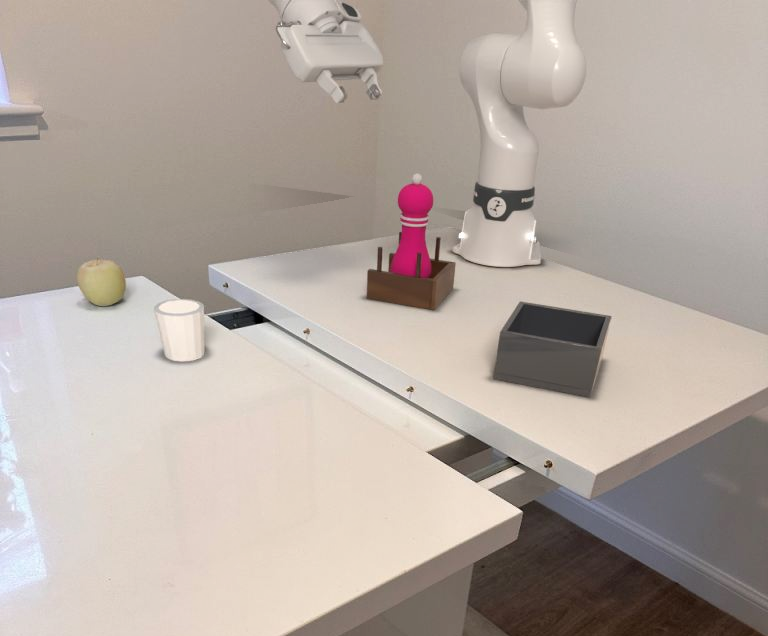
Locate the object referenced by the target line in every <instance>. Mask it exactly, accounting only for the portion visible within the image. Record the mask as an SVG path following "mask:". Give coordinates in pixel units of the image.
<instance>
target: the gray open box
mask: <svg viewBox="0 0 768 636" xmlns="http://www.w3.org/2000/svg"><path fill="white" fill-rule="evenodd" d="M611 321H612V315H608V314H603V313H602V314H601V313H596V312H588V311H583V310H576V309H570V308H564V307H558V306H551V305H546V304H539V303H533V302H527V301H519V302H518V303H517V305H516V306H515V309H514V310H513V311H512V312H511V314H510V316H509V318H508V319H507V321H506V322H505V323H504V325H503V326H502V328H501V330H500V331H499V337H498V344H497V349H496V356H495V357H496V358H495V364H494V372H493V380H496V381H503V382H506V383H507V382H508V383H513V384H516V385H517V384H518V385H523V386H527V387H532V388H533V387H534V388H539V389H544V390H549V391H555V392H559V393H565V394H570V395H576V396H581V397H586V398H591V396H592V393H593V391H594V386H595V383H596V380H597V377H598V374H599V369H600V366H601V363H602V360H603V355H604V352H605V347H606V342H607V339H608V335H609V330H610V326H611Z"/></svg>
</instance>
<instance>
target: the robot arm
mask: <svg viewBox="0 0 768 636" xmlns="http://www.w3.org/2000/svg"><path fill="white" fill-rule="evenodd" d="M518 1H519V3H520V5H521V6H522V7H523V8H524V10H525V11H526V21H525V22H526V23H525V28H524V31H523V33H522V34H519V33H507V32H506V33H505V32H492V33H488V34H483V35H479V36H476V37H473V38H472V39H470V40H469V42H468V43H467V44H466V45H465V47H464V49H463V51H462V54H461V57H460V61H459V68H458V69H459V79H460V82H461V85H462V87H463V88H464V90H465V91H466V93H467V94H468V95H469V98H470V99H471V102H472V103H473V106H474V110H475V112H476V116H477V120H478V127H479V135H480V136H479V137H480V151H479V161H478V162H479V164H478V173H477V181H476V182H475V183H474V189H473V193H472V194H473V196H472V197H473V198H472V202H473V204H472V206H471V207H470V208H468V209H467V210H466V211H465V212H464V217H463V222H462V223H463V224H462V229H461V232H460V233H459V234H458V239H460V242H459V243H457V244H455V245H453V246H452V249H451V251H452V253H454V254H456V255H459V256H461V257H462V258H463V259H464V260H467V261H469V262H471V263H474V264H478V265H483V266H489V267H496V268H497V267H499V268H514V267H516V268H517V267H520V266H521V267H522V266H533V265H541V263H542V254H541V243H540V241H539V240H538V238H537V236H535V232H536V227H537V219H536V216H535V214H534V212H533V206H534V201H535V197H536V194H535V193H536V188H535V186H534V184H535V177H536V171H537V165H538V158H539V151H540V145H539V141H538V138H537V137H536V135H535V134H534V132H533V131H532V130H531V129H530V128H529V126H528V124H527V122H526V118H525V113H524V107H525V108H531V109H538V110H549V109H559V108H565V107H567V106H569V105H571V104H572V103H573V102H574V101H575V100H576V98H577V97H578V96H579V94H580V93H581V91H582V88H583V86H584V83H585V81H586V75H587V62H586V56H585V54H584V52H583V49H582V48H581V46H580V44H579V43H578V40H577V36H576V30H575V13H576V5H577V1H578V0H518ZM268 2H269V3H270V4H271V5H272V6H273V7H274V8H275V9H276V10H277V11H276V12H278V15H279V19H280V21H278V22H277V24H276V26H275V34H276V36H277V38H278V40H279V42H280V49H281V51H282V53H283V55H284V56H283V57H284V58H285V61H286V62H287V64H288V66H289V68H290V69H291V72H292V73H293V75H294V77H295V78H296V79H298V81H300V82H302V83H317V84H318V86H319V87H320V89H322V90H324V91H325V92H326V93H327V94H329V95H330V96H331V98H332V100H333V101H334V103H335V104H342V103H345V101H346V100H347V98H348V93H347V92H346V91H345V88H344V87H343V86H341V85H339V84H338V83H337V81H352V80H353V81H354V80H362V82H363V83H364V84H366V86H367V90H366V91H365V93H366V94H367V96H368V97H369V99H370V101H377V100H379V99H380V98H381V97H382V95H383V91H382V89H381V87H380V86H379V82H378V76H377V75H378V73H379V72H381V70H382V68H383V67H384V64H385V63H384V56H383V54H382V52H381V50H380V49H379V47H378V45H377V43H376V41H375V40H374V38H373V36H372V34H371V32H370V31H369V30H368V28H367V27H366V26H365V25H364V24H363V23H361V20H362V15H361V13H360V11H359V10H358V9H357V8H356V7H355V6H352V5H350V4H348V3H345V2H344V1H342V0H268Z"/></svg>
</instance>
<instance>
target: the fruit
mask: <svg viewBox="0 0 768 636" xmlns="http://www.w3.org/2000/svg"><path fill="white" fill-rule="evenodd" d="M100 257H101V255H100V254H98V255H97V258H96V259H92V260H88V261H86V262H84V263H83V264H81V265H80V266H79V268H78V270H77V273H76V282H77V286H78V288H79V290H80V291H81V294H82V295H83V297H85V298H86V300H88V302H90V303H91V304H93V305H95V306H99V307H108V306H112V305H114V304H116V303H118V302H119V301H121V299H122V298H123V297H124V296H125V295H124V294H125V292H126V287H127V281H126V277H125V274H124V272H123V270H122V268H121V266H120V265H118V263H116V262H115V261H113V260H111V259H100Z"/></svg>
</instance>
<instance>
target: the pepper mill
mask: <svg viewBox="0 0 768 636" xmlns="http://www.w3.org/2000/svg"><path fill="white" fill-rule="evenodd" d="M422 182H423V177H422V175H421V174H420V173H414V174H413V175H412V177H411V183H409V184H406V185H404V186H403V187H402V188H401V189H400V191H399V193H398V195H397V206H398V208H399V210H400V211H401V213H400V214H399V224H400V225H401V232H402V234H401V240H400V243H399V242H398V246H397V249H396V250H395V252H394V253H395V255H394V257H393V260H392V263H391V272H393V273H399V274H406V275H412V276H416V262H417V253H422V259H421V273H420V277H425V278H429V277H430V275H431V260H430V259H431V256H430V254H429V251H428V246H427V241H426V230H427V226H429V224H430V222H429V219H430V215H429V213H430V211H431V210H432V208H433V206H434V195H433V191H432V190H431V189H430V188H429V187H428V186H427V185H425V184H422Z"/></svg>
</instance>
